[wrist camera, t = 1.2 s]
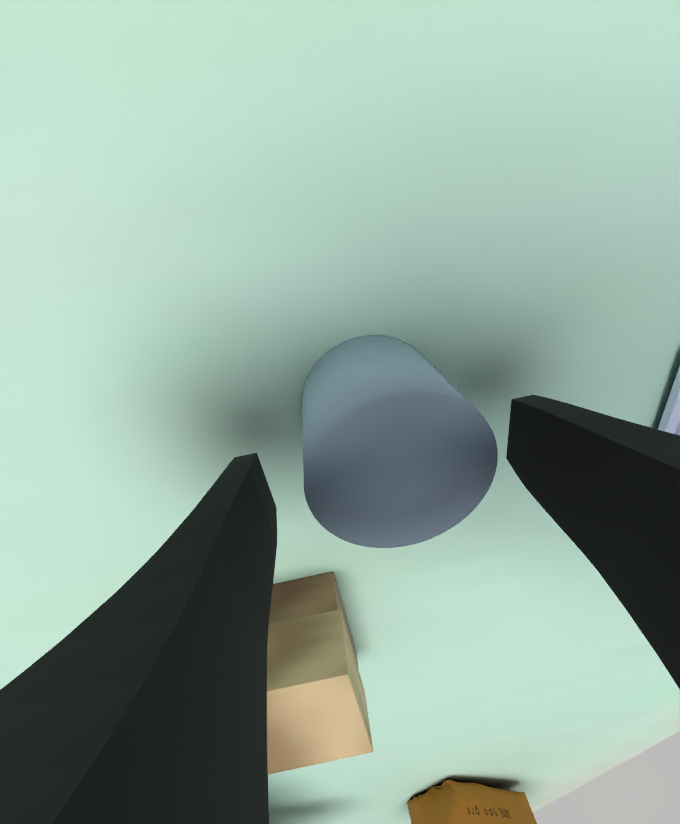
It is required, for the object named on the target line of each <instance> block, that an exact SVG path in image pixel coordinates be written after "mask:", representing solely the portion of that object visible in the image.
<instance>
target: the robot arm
mask: <svg viewBox="0 0 680 824" xmlns="http://www.w3.org/2000/svg"><path fill="white" fill-rule="evenodd" d="M506 458H507V460H508V461H509V463H510V465H511V466H512V468H513V469H514V471H515V473H516V474H517V476H518V477H519V478H520V480H521V481H522V483H523V484H524V486H525V487H526V488H527V490H528V491H529V492H530V493H531V494H532V495H533V497H534V498H535V499H536V500H537V501H538V502H539V504H540V505H541V506H542V507H543V508H544V509H545V510H546V512H547V513H548V514H549V515H550V516H551V517H552V518H553V519H554V521H555V522H556V523H557V524H558V525H559V526H560V527H561V529H562V530H563V531H564V532H565V533H566V534H567V535H568V536H569V538H570V539H571V540H572V541H573V542H574V543H575V544H576V545H577V547H578V548H579V549H580V550H581V551H582V552H583V553H584V555H585V556H586V557H587V558H588V559H589V561H590V562H591V563H592V564H593V565H594V567H595V568H596V569H597V570H598V572H599V573H600V574H601V576H602V577H603V578H604V580H605V581H606V582H607V584H608V585H609V587H610V588H611V589H612V591H613V592H614V593H615V595H616V596H617V598H618V599H619V600H620V602H621V603H622V604H623V606H624V607H625V608H626V610H627V611H628V613H629V614H630V616H631V617H632V618H633V620H634V621H635V623H636V624H637V626H638V627H639V629H640V630H641V632H642V633H643V634H644V636H645V637H646V639H647V640H648V642H649V643H650V645H651V646H652V647H653V649H654V650H655V652H656V653H657V655H658V656H659V658H660V659H661V661H662V662H663V664H664V666H665V667H666V669H667V670H668V672H669V673H670V675H671V676H672V678H673V679H674V681H675V683H676V684H677V686H678V687H679V689H680V366H679V369H678V372H677V375H676V378H675V381H674V384H673V387H672V389H671V392H670V395H669V398H668V401H667V404H666V407H665V410H664V413H663V415H662V418H661V421H660V424H659V427H658V430H657V429H653V428H650V427H646V426H642V425H639V424H635V423H632V422H628V421H625V420H621V419H618V418H614V417H611V416H608V415H604V414H601V413H598V412H594V411H591V410H587V409H584V408H581V407H577V406H574V405H571V404H567V403H564V402H560V401H557V400H553V399H549V398H545V397H541V396H536V395H531V396H526V397H521V398H516V399H512V401H511V412H510V423H509V434H508V445H507V456H506ZM276 547H277V517H276V505H275V503H274V500H273V497H272V494H271V492H270V489H269V486H268V483H267V480H266V478H265V475H264V472H263V469H262V467H261V464H260V461H259V458H258V455H257V453H254V454H249V455H245V456H240V457H235V458H234V459H233V460H232V461H231V463H230V464H229V465H228V466H227V468H226V469H225V470H224V471H223V473H222V474H221V475H220V477H219V478H218V479H217V481H216V482H215V483H214V484H213V486H212V487H211V488H210V490H209V491H208V492H207V493H206V495H205V496H204V497H203V498H202V500H201V501H200V502H199V503H198V505H197V506H196V507H195V508H194V510H193V511H192V512H191V513H190V514H189V516H188V517H187V518H186V519H185V520H184V521H183V522H182V524H181V525H180V526H179V527H178V528H177V529H176V530H175V532H174V533H173V534H172V535H171V536H170V537H169V538H168V540H167V541H166V542H165V543H164V544H163V545H162V546H161V548H160V549H159V550H158V551H157V552H156V553H155V554H154V555H153V556H152V557H151V558H150V559H149V560H148V561H147V562H146V563H145V564H144V565H143V566H142V567H141V568H140V569H139V570H138V571H137V572H136V573H135V574H134V575H133V576H132V577H131V578H130V579H129V580H128V581H127V582H126V583H125V584H124V585H123V586H122V587H121V588H120V589H119V590H118V591H117V592H116V593H115V594H114V595H113V596H111V597H110V598H109V599H108V600H107V601H106V602H105V603H104V604H102V605H101V606H100V607H99V608H98V609H97V610H96V611H94V612H93V613H92V614H91V615H90V616H89V617H88V618H87V619H85V620H84V621H83V622H82V623H81V624H80V625H79V626H78V627H76V628H75V629H74V630H73V631H72V632H71V633H70V634H69V635H67V636H66V637H65V638H64V639H63V640H62V641H60V642H59V643H58V644H57V645H56V646H54V647H53V648H52V649H51V650H50V651H48V652H47V653H46V654H45V655H43V656H42V657H41V658H40V659H39V660H37V661H36V662H35V663H34V664H32V665H31V666H30V667H29V668H28V669H26V670H25V671H24V672H23V673H21V674H20V675H19V676H17V677H16V678H15V679H14V680H12V681H11V682H10V683H9V684H7V685H6V686H5V687H3V688H2V689H1V690H0V824H269V813H268V766H267V643H268V627H269V616H270V607H271V597H272V587H273V578H274V568H275V557H276Z"/></svg>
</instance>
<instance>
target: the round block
mask: <svg viewBox="0 0 680 824" xmlns="http://www.w3.org/2000/svg"><path fill="white" fill-rule="evenodd" d="M302 429H303V464H304V491H305V496H306V501H307V503H308V506H309V508H310V510H311V512H312V514H313V515H314V517H315V518H316V519H317V521H318V522H319V523H320V524H321V525H322V526H323V527H324V528H325V529H326V530H328V531H329V532H330V533H332V534H334V535H335V536H337V537H339V538H341V539H343V540H345V541H348V542H350V543H353V544H357V545H361V546H366V547H375V548H392V547H401V546H407V545H412V544H415V543H419V542H422V541H425V540H428V539H431V538H433V537H435V536H437V535H440V534H442V533H443V532H445V531H447V530H449V529H450V528H452V527H453V526H455V525H456V524H458V523H459V522H461V521H462V520H463V519H464V518H465V517H467V516H468V515H469V514H470V513H471V512H472V511H473V510H474V509H475V508H476V507H477V505H478V504H479V503H480V502H481V500H482V499H483V497H484V496H485V494H486V493H487V491H488V489H489V487H490V485H491V483H492V481H493V478H494V475H495V471H496V466H497V445H496V440H495V437H494V434H493V432H492V429H491V428H490V426H489V424H488V423H487V421H486V420H485V419H484V418H483V416H482V415H481V414H480V413H479V412H478V411H477V410H476V409H475V408H474V407H473V406H472V405H471V404H470V403H469V402H468V401H467V400H466V399H465V398H464V397H463V396H462V395H461V394H460V393H459V392H458V391H457V390H456V389H455V388H454V387H453V386H452V385H451V384H450V383H449V382H448V381H447V380H446V379H445V378H444V377H443V376H442V375H441V374H440V373H439V372H438V371H437V370H436V369H435V368H434V367H433V366H432V365H431V364H430V363H429V362H428V361H427V360H426V359H425V358H424V357H423V356H422V355H421V354H420V353H419V352H418V351H417V350H416V349H415V348H413V347H412V346H410V345H409V344H407V343H406V342H403V341H401V340H399V339H396V338H392V337H388V336H380V335H369V336H361V337H357V338H353V339H350V340H348V341H345V342H343V343H341V344H339V345H337V346H335V347H334V348H332V349H331V350H329V351H328V352H327V353H325V354H324V355H323V356H322V357H321V358H320V359H319V360H318V361H317V363H316V364H315V365H314V367H313V368H312V370H311V371H310V373H309V375H308V377H307V379H306V382H305V384H304V388H303V393H302Z"/></svg>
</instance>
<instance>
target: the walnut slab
mask: <svg viewBox="0 0 680 824" xmlns="http://www.w3.org/2000/svg"><path fill="white" fill-rule="evenodd" d="M336 610H341V612H342V616H343V619H344V623H345V626H346V629H347V633H348V636H349V640H350V643H351V647H352V650H353V653H354V657H355V660H356V664H357V667H358V662H357V655H356V651H355V647H354V644H353V640H352V636H351V633H350V629H349V626H348V622H347V619H346V615H345V611H344V608H343V604H342V601H341V597H340V594H339V590H338V586H337V583H336V579H335V576H334V572H328V573H324V574H319V575H314V576H310V577H305V578H300V579H296V580H291V581H286V582H281V583H277V584H273V587H272V597H271V607H270V616H269V624H274V623H279V622H283V621H288V620H293V619H298V618H303V617H307V616H312V615H317V614H322V613H326V612H331V611H336Z"/></svg>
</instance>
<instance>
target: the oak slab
mask: <svg viewBox="0 0 680 824" xmlns="http://www.w3.org/2000/svg"><path fill="white" fill-rule="evenodd" d="M370 752H373V747H372V740H371V733H370V726H369V719H368V712H367V705H366V698H365V691H364V688H363V684H362V681H361V677H360V674H359V670H358V667H357V664H356V660H355V657H354V653H353V650H352V647H351V643H350V640H349V636H348V633H347V629H346V626H345V623H344V619H343V616H342V612H341V610H336V611H331V612H326V613H322V614H317V615H312V616H307V617H303V618H298V619H293V620H288V621H283V622H279V623H274V624H269V627H268V643H267V766H268V774H272V773H277V772H282V771H286V770H291V769H296V768H300V767H305V766H310V765H314V764H319V763H324V762H328V761H333V760H338V759H342V758H347V757H352V756H356V755H361V754H366V753H370Z"/></svg>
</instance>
